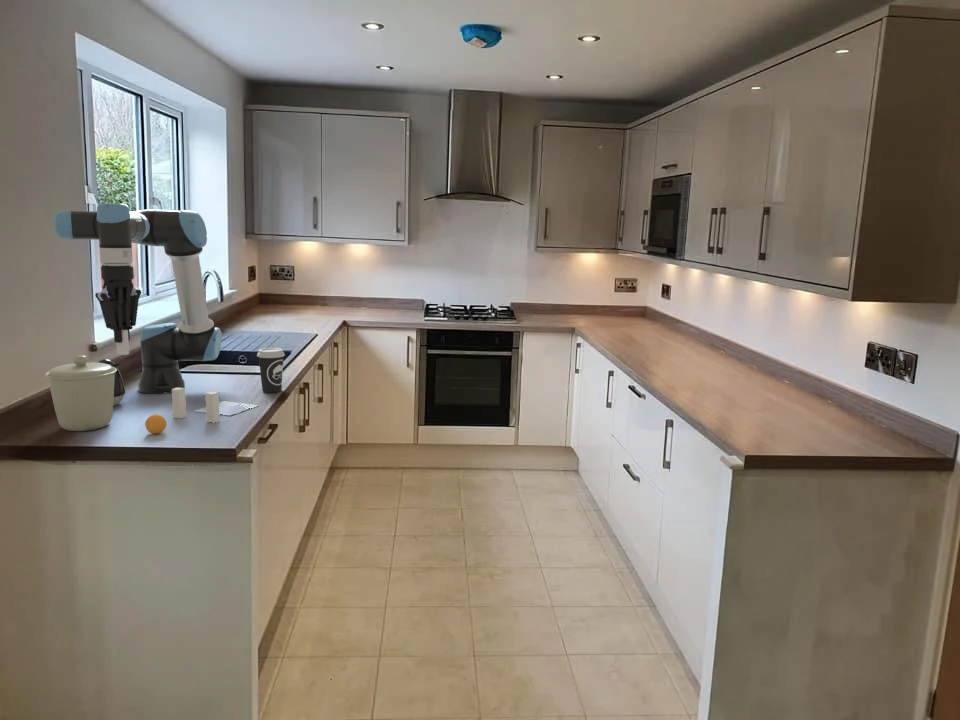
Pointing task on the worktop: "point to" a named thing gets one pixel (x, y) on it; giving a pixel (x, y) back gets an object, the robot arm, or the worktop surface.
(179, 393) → the post
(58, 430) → the worktop surface
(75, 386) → the canister
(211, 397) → the post
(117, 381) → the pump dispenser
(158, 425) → the ball
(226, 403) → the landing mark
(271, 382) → the coffee cup
